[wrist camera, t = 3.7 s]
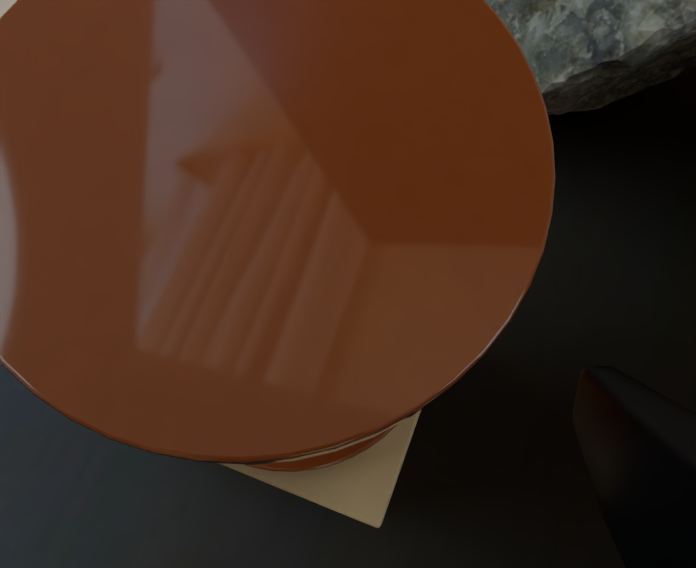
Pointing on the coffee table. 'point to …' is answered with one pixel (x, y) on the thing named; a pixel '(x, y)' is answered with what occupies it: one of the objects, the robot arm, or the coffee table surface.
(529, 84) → the disc
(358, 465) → the birch block
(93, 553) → the coffee table surface
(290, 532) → the coffee table surface
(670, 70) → the rock
